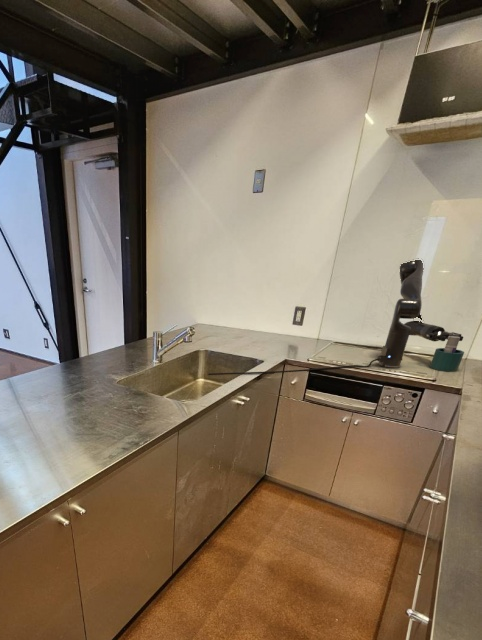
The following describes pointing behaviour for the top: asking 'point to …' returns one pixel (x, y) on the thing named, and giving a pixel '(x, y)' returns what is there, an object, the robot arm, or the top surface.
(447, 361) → the teal pen cup
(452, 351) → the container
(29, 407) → the top surface
